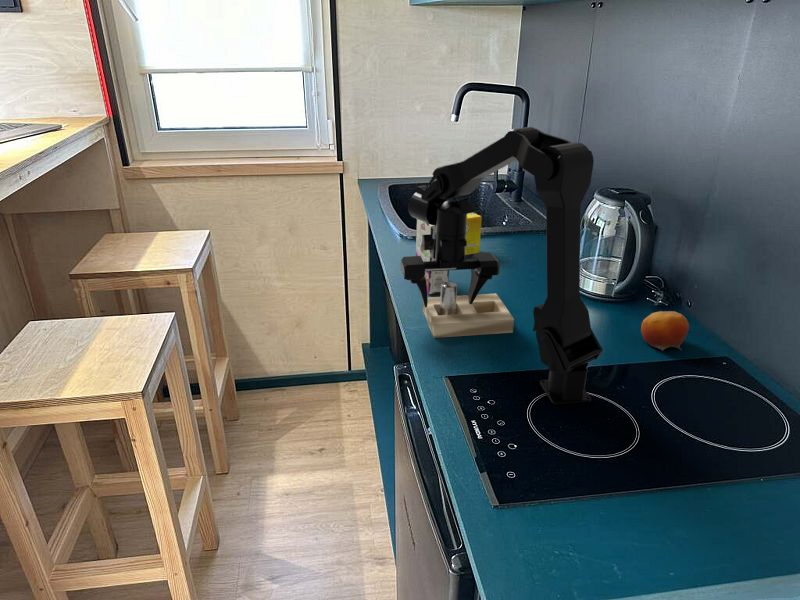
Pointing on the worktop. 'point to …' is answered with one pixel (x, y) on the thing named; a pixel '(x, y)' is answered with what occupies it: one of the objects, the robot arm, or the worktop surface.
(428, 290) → the candy bar box
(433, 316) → the socket block
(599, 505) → the worktop surface
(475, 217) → the supplement box
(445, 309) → the pin
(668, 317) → the fruit
